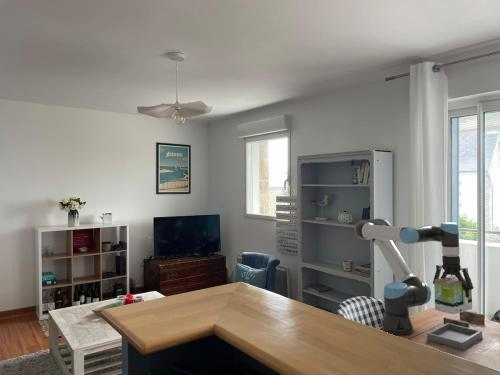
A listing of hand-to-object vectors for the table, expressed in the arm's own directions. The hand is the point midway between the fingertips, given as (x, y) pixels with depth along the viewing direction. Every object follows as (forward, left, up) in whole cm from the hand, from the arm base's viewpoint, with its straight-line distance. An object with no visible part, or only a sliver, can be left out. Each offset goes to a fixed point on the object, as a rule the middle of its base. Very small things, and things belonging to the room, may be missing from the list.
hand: (453, 301), depth 180 cm
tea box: (0, 0, -4) cm, 4 cm away
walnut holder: (-5, +22, -18) cm, 29 cm away
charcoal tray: (0, 0, -18) cm, 18 cm away
